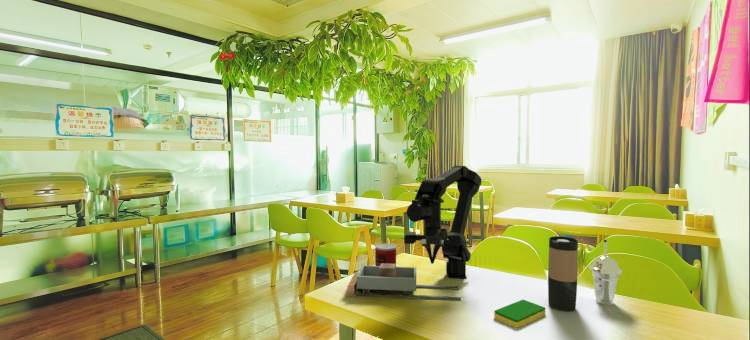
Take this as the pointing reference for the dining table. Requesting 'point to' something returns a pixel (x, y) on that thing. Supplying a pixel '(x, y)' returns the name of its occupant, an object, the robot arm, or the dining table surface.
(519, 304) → the dish sponge
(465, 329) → the dining table surface
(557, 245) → the travel mug
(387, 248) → the canned food
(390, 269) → the walnut block
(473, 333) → the dining table surface
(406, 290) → the grey open tray
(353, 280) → the track
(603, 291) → the cup with straw
